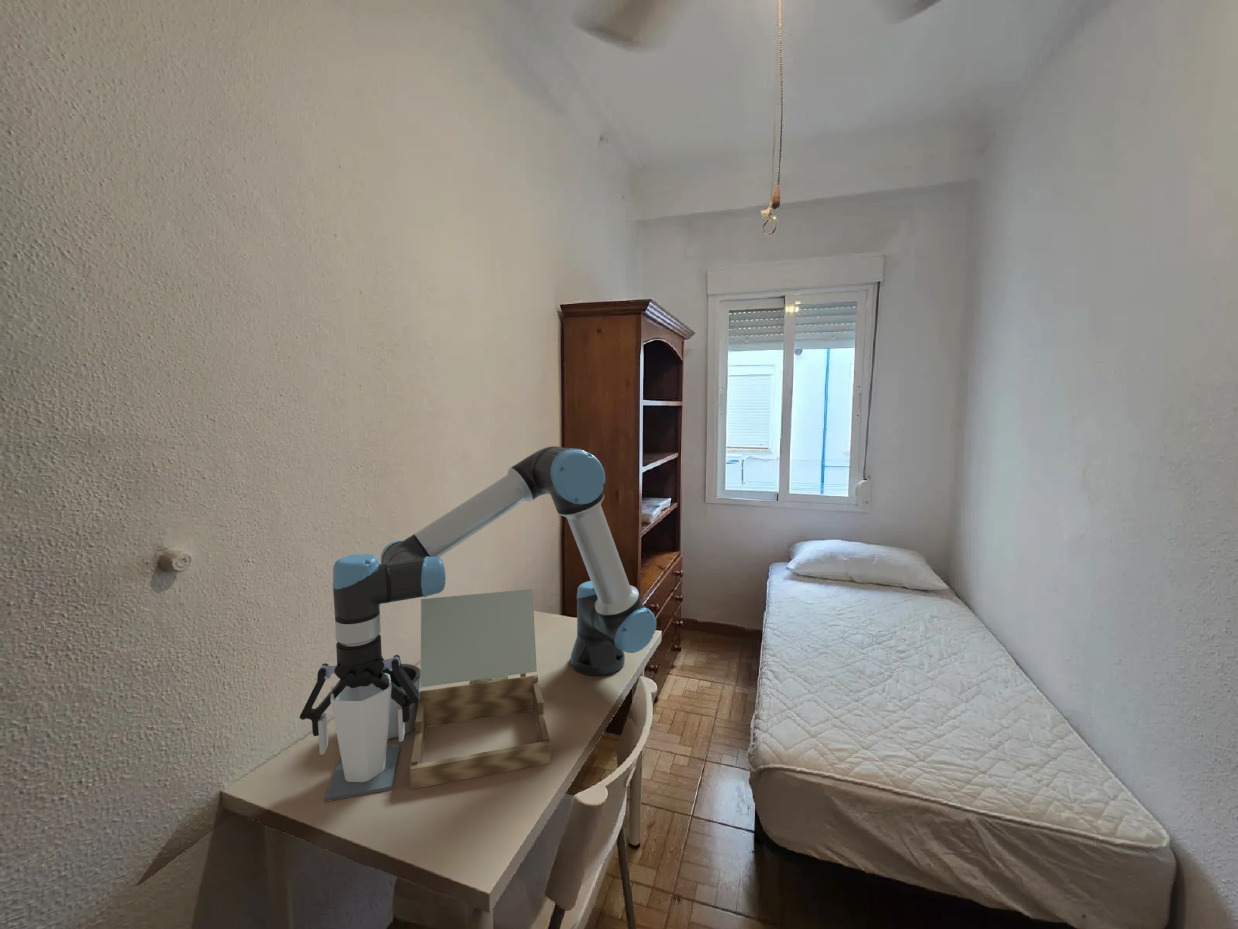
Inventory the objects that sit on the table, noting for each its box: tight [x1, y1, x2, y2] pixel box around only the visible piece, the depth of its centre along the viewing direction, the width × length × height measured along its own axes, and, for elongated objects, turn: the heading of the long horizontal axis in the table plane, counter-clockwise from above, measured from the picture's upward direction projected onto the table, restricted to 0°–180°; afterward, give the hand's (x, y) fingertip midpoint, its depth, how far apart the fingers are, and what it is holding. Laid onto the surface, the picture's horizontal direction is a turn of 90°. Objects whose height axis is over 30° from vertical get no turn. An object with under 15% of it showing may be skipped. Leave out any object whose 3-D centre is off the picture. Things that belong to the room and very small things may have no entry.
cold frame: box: [409, 673, 551, 790], centre depth 108 cm, size 26×25×16 cm
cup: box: [330, 673, 392, 782], centre depth 97 cm, size 11×10×17 cm
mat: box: [324, 744, 401, 802], centre depth 97 cm, size 11×12×1 cm
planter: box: [382, 663, 423, 740], centre depth 112 cm, size 13×13×11 cm
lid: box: [420, 588, 538, 688], centre depth 118 cm, size 26×19×1 cm
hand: (363, 743), depth 97 cm, fingers open, 13 cm apart
